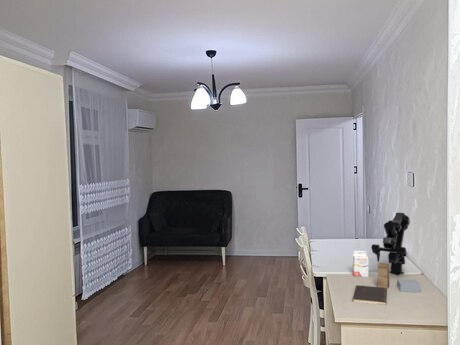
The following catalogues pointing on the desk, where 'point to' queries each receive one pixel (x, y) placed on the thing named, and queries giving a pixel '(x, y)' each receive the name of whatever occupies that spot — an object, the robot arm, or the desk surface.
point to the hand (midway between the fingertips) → (386, 262)
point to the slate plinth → (408, 285)
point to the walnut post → (383, 275)
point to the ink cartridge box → (360, 264)
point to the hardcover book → (370, 294)
